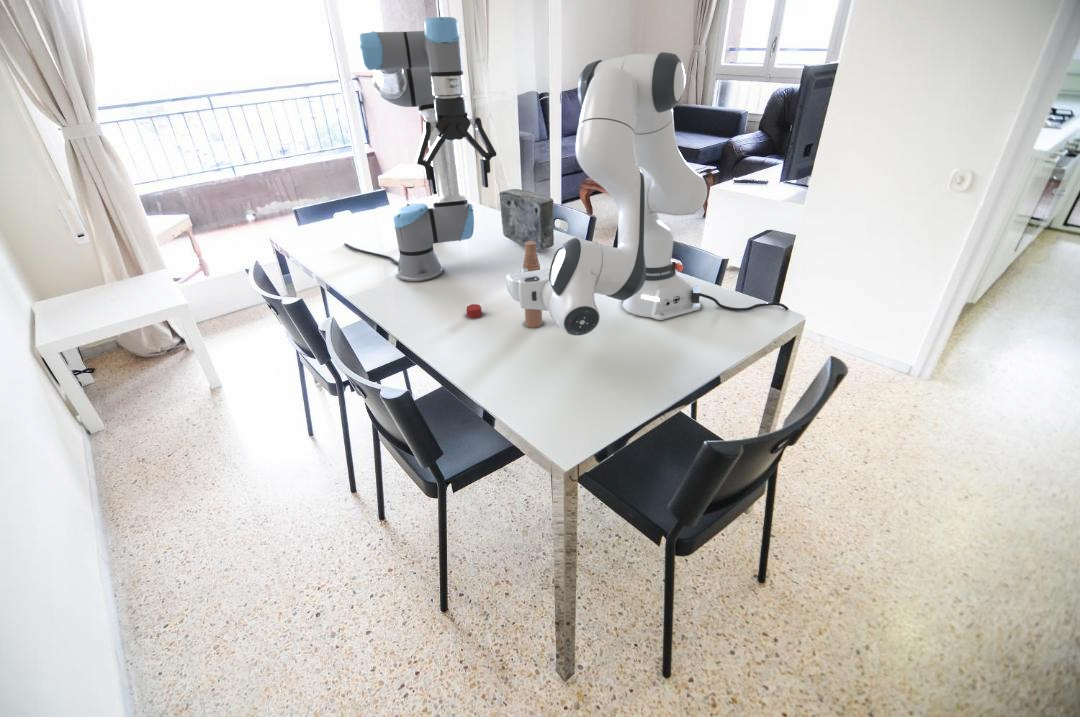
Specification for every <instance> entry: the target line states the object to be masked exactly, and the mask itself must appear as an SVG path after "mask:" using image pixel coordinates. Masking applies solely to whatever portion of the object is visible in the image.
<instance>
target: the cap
mask: <svg viewBox="0 0 1080 717" xmlns="http://www.w3.org/2000/svg"><path fill="white" fill-rule="evenodd" d="M465 309H466V316H467V317H468V318H469V319H478V318H480V317H482V315H483V313H482V305H480V304H477V303H472V304H469V305H467V306H466V308H465Z"/></svg>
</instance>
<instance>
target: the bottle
mask: <svg viewBox="0 0 1080 717" xmlns="http://www.w3.org/2000/svg"><path fill="white" fill-rule="evenodd" d="M522 268H527V269H528V271H535V270H541V263H540V260H539V256H538V253H537V250H536V242H534V241H528V242H525V247H524V257H523V263H522ZM524 317H525V326H526V327H527V328H532V329H534V328H539V327H541V326H542V325H543V310H538V309H524Z"/></svg>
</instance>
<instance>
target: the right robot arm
mask: <svg viewBox="0 0 1080 717" xmlns="http://www.w3.org/2000/svg"><path fill="white" fill-rule="evenodd" d="M684 67H685V66H684V63H683V61H682V59H681V58H680V57H679V55H678V54H676V53H672V52H668V51H667V52H664V51H660V52H659V53H631V54H628V55H623V56H618V57H613V58H608V59H605V60H603V59H598V60H595V61H592V62H590V63H588V64H586V65H585V67H584V68H583V70H582V71H581V72H580V75H579V78H578V82H577V98H578V102H579V105H580V107H581V110H580V114H579V119H578V125H577V130H576V136H575V145H574V146H575V147H574V148H575V149H574V150H575V158H576V161H577V163H578V165H579V167H580V169H582V171H583V173H585V175H586V176H587V177H588V178H589V179H591V180H592V181H594V182H595V183H597V184H598V185H599V187H602V188H603V189H604V190H605V191H606V192H607V194H609V195H610V196H611V198H612V200H613V202H614V203H615V204H616V208H617V214H618V215H617V247H615V246H610V245H606V244H602V243H598V242H595V241H591V240H586V239H583V238H577V237H572V238H571V239H569V240H567V241H566V242H565V243H563V244H562V245H561V246H560V247H559V248H558V249H557V250H556V252H555V253H554V256H553V258H552V261H551V263H550V268H544V269H540V270H535V271H528V269H527V268H523V267H520V272H512V273H508V274H507V275H506V276H505V284H506V285H505V286H506V290H507V292H508V294H509V295H510V297H511V298H512V299H513V300H514V301H516V302H518V303H519V305H520V306H519V307H520V309H523V310H525V309H538V310H542V311H546V312H548V313H549V315H550V317H551V318H552V320H553V321H554V323H555V324H556V325H557V326H558V327H559V328H560V329H561V330H562V331H563V332H564V333H566V334H568V335H571V336H584V335H586V334H589V333H591V332H592V331H593V330H595V329H596V328H597V326H598V325H599V323H600V317H601V316H600V312H599V308H598V306H597V305H596V300H595V294H598V295H602V296H606V297H608V298H612V299H614V300H618V301H623V302H622V307H623V309H624V310H625V311H626V312H627V313H630V314H632V315H635V316H639V317H646V318H651V319H654V320H656V321H663V320H666V319H670V318H674V317H677V316H681V315H686V314H688V313H692V312H696V311H699V310H701V302H700V297H702V298H704V299H708V300H711V301H713V302H714V303H715V305H717V306H718V307H720V308H721V309H724V310H728V311H735V312H737V311H738V312H745V311H751V310H753V309H756V308H759V307H770V306H777V307H781V308H783V309H784V310H786V311H789V310H790V309H789V307H788V306H786V305H785V304H783V303H781V302H766V303H768V304H766V303H765V302H763V303H757V304H753V305H750V306H748V307H732V306H727V305H724V304H722V303H720V302H719V301H718V300H717V299H716V298H714V297H713V296H711V295H709V294H705V293H701V289H700V286H699V285H691V283H690V282H688V281H687V280H686V279H685V278H684V277H683V276H682V275H680V274H679V273H680V272H682V271H683V270H684V267H685V266H684V265H683V264H681V263H680V262H676V261H675V260H673V258H672V257H673V249H674V241H675V240H674V239H675V238H674V235H673V234H674V233H673V232H672V230H671V229H670V228H669V227H668V226H667V225H666V224H664V223H663V222H662V221H661V219H660V217H659V214H663V215H670V216H676V217H677V216H691V215H693V216H694V215H696V214H697V213H698V212H699V211H700V210H702V208H703V206H704V205H705V203H706V200H707V197H708V186H707V183H706V180H705V178H704V177H703V175H701V174H699V173H698V172H696V171H695V170H694V169H693V168H692V167H691V166H690V165H689V164H688V163H687V161H686V160H685V159H684V157H683V155H682V153H681V151H680V149H679V146H678V143H677V138H676V137H677V136H676V130H675V120H674V110H673V109H674V108H675V107H677V105H678V104H679V103H680V102H681V100H682V97H683V93H684V89H685V87H686V86H685V85H686V74H685V69H684ZM676 271H677V272H676ZM678 272H679V273H678Z"/></svg>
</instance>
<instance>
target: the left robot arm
mask: <svg viewBox="0 0 1080 717" xmlns="http://www.w3.org/2000/svg"><path fill="white" fill-rule="evenodd" d="M423 23H424V24H423V25H424V30H412V31H370V32H363V33H360V34H359V36H358V42H359V48H360V53H361V59H362V64H363V67H364V68H365V69H366V71H367V70H368V71H373V74H372V84H373V87H374V89H375V91H376V92H377V94H378V95H379V96H380V97H381V98H382V99H384V100H385V101H386V102H388V103H390V104H393V105H395V106H398V107H403V108H417V109H418V113H419V115H421V116H422V117H423V118H424V121H423V123H422V125H423V132H422V135H421V139H420V142H419V145H418V149H417V152H416V156H415V159H414V162H415V163H416V164H417V165H418V166H419V165H420V166H422V167H423V171H424V172H423V173H424V177H425V179H426V180H427V181H429V183H430V184H429V185H430V189H431V191H430V192H431V193H432V194H433V195H435V196H436V197H435V198H434V200H433V201H432V204H433V207H430V208H429V207H428V205H427V204H425V203H413V204H409V205H408V206H407V205H405V206H402V207H400V208H398V209H397V210H396V211H394V213H393V216H392V219H393V228H394V229H395V235H396V241H397V247H398V251H399V259H398V261H397V260H396V259H394V258H393V257H391V256H389V255H385V254H381V253H377V252H372V251H368V250H364V249H361V248H356V247H354V246H352V245H350V244H348V243H343V245H344V246H345V247H347V248H348V249H350V250H352V251H355V252H359V253H362V254H366V255H371V256H375V257H380V258H384V259H388V260H390V261H391V262H393V264H395V265H397V276H398V278H399V279H400V280H402V281H406V282H413V283H414V282H425V281H429V280H432V279H435V278H438V277H439V276H440V275H441V274H442V273H443V268H442V264H441V263H440V260H439V259H438V257H439V256H438V253H436V252H435V250H434V244H440V243H441V244H442V243H450V242H461V241H465V240H469V239H471V238H472V237H473V234H474V230H475V214H474V206H473V204H472V203H469V202H468V198H467V197H466V196H465V195H463V190H462V183H461V175H460V167H459V161H458V154H457V146H456V145H457V144H456V140H459V141H460V140H463V139H465V140H466V141H467V143H469V144H470V145H471V147H472V148H473V149H474V150H475V151H476V152H477V153H478V154H479V155H480V156H481V157H482V158H480V160H479V162H480V176H481V184H482V187H484V188H489V178H488V174H490V173H491V160H492V158H494V157H495V158H496V156H497V152H496V150H495V148H494V146H493V145H492V143H491V140H490V139H489V136H488V135H487V133H486V131H485V130H484V127H483V124H482V119H481V118H480V117H478V116H473V118H469V116H468V115H469V114H468V106H467V98H466V97H465V96H464V95H465V94H466V88H465V79H464V78H465V77H464V71H463V70H464V69H463V58H462V47H461V33H460V28H459V22H458V20H457V18H455V17H454V16H453V17H452V16H438V17H435V16H434V17H433V16H432V17H427V18H426V19H425V20H424V22H423ZM470 126H471V127H472V128H474V129H475V131H476V133H477V135H478V136H479V138H480V140H481V142H482V144H483V145H484V147H485V149H486V150H487V151H486V150H485V149H484V148H483V147H482V146H481V145H480V144H479V142H477V141H476V139H474V137H473V135H472V134H471V133H470V132H469V131H468V130H469V128H470ZM427 148H429V151H428V152H427V151H426V150H427ZM426 152H427V153H426ZM425 154H426V156H425Z"/></svg>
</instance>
